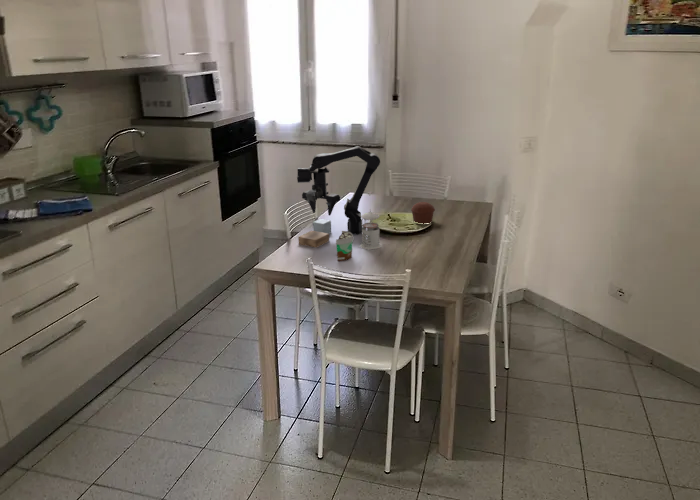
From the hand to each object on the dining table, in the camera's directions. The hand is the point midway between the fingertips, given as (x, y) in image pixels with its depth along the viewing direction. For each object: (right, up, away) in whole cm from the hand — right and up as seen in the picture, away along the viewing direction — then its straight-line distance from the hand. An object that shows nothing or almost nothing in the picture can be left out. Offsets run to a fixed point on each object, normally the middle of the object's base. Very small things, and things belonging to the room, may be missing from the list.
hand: (321, 214), depth 275 cm
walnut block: (-3, -14, -9) cm, 17 cm away
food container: (+12, -20, -28) cm, 37 cm away
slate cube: (0, -9, +3) cm, 10 cm away
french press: (+22, -15, -15) cm, 31 cm away
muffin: (+50, -3, +14) cm, 52 cm away
